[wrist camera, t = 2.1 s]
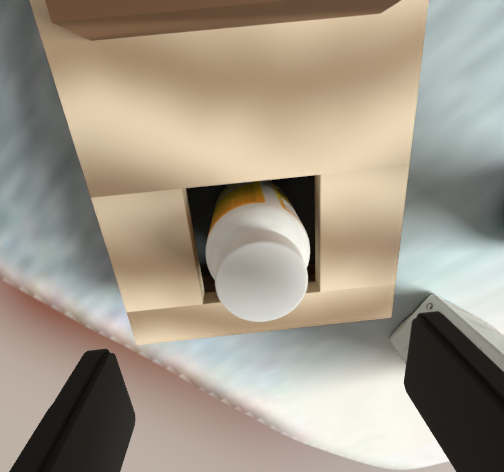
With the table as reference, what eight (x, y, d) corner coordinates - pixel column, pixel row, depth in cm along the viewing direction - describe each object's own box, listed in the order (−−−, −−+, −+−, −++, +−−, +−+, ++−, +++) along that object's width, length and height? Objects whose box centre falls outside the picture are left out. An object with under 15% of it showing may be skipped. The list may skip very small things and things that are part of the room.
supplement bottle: (300, 187, 21) (347, 246, 12) (274, 254, 23) (299, 345, 14) (225, 164, 20) (218, 209, 11) (205, 235, 22) (186, 320, 13)
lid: (23, -68, 12) (-77, -150, 8) (424, -103, 12) (512, -200, 8) (142, 331, 20) (120, 385, 16) (382, 306, 20) (417, 353, 16)
